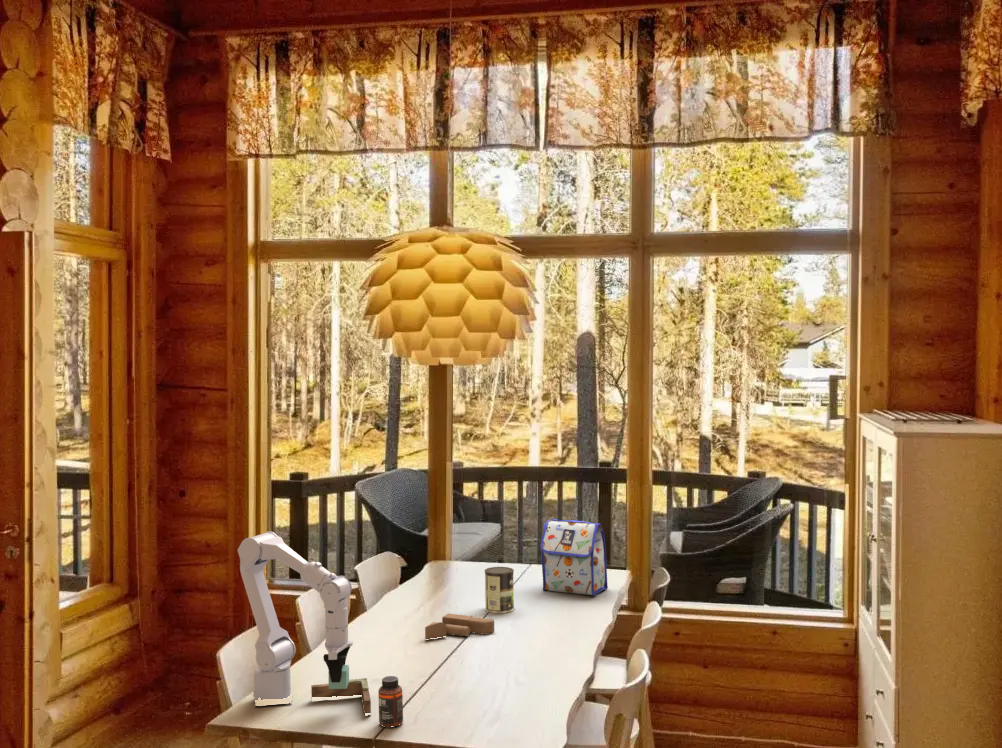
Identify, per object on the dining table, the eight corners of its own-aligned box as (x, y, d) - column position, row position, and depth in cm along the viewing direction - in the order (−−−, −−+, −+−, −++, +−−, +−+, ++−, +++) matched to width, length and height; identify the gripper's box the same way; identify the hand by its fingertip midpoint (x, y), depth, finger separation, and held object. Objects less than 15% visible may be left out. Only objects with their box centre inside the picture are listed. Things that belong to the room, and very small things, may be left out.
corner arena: (312, 721, 226) (311, 703, 225) (311, 700, 239) (311, 683, 239) (370, 715, 229) (370, 697, 229) (366, 695, 242) (366, 678, 242)
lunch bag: (537, 592, 343) (536, 522, 342) (555, 582, 357) (554, 514, 357) (593, 599, 332) (592, 527, 331) (609, 588, 347) (609, 519, 346)
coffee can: (514, 605, 326) (513, 566, 325) (513, 613, 316) (513, 573, 315) (485, 605, 326) (485, 566, 326) (484, 613, 316) (484, 573, 315)
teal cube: (346, 688, 230) (346, 671, 230) (328, 689, 230) (328, 671, 230) (349, 682, 234) (348, 665, 234) (331, 682, 234) (331, 665, 234)
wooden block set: (445, 609, 303) (495, 615, 296) (445, 626, 303) (495, 632, 296) (421, 623, 287) (473, 630, 280) (422, 641, 287) (473, 648, 281)
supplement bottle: (404, 718, 227) (403, 673, 227) (402, 728, 221) (401, 682, 221) (380, 719, 227) (379, 674, 226) (377, 729, 221) (377, 683, 220)
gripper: (348, 634, 224) (349, 688, 225) (356, 616, 239) (357, 667, 239) (319, 634, 224) (320, 689, 225) (329, 617, 239) (330, 668, 239)
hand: (337, 678), depth 232 cm, fingers closed on teal cube, 4 cm apart
